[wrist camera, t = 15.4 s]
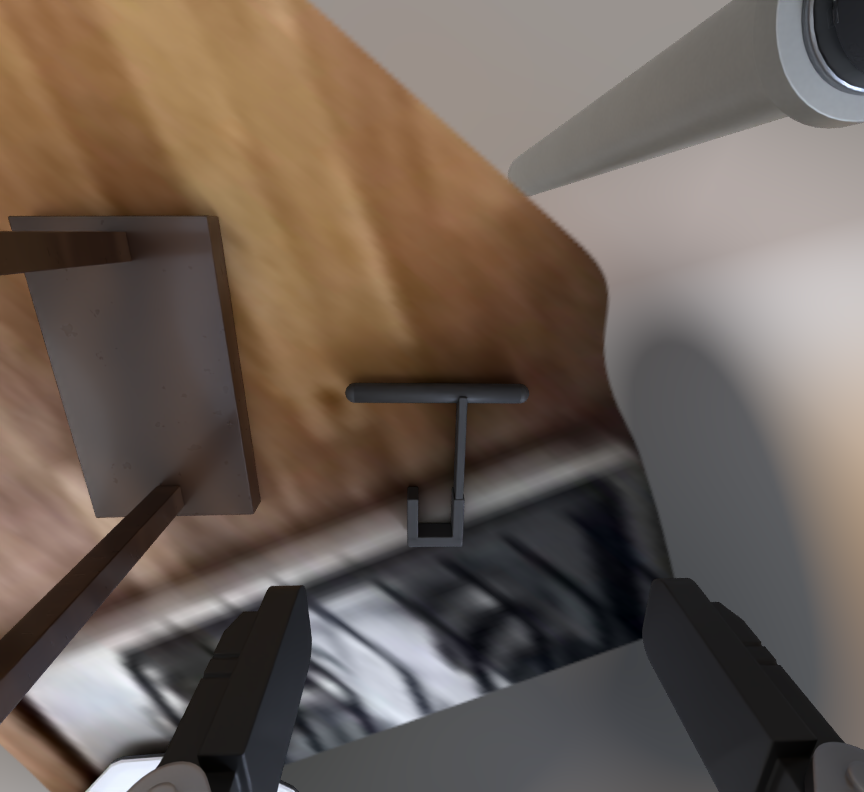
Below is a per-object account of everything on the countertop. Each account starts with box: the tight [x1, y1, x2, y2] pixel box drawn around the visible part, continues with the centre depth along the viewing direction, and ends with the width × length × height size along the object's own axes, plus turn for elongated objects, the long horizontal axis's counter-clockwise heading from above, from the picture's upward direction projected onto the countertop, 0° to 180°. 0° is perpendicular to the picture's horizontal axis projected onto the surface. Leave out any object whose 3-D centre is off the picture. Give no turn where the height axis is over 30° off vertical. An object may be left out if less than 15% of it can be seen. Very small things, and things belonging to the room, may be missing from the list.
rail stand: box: [0, 216, 261, 724], centre depth 19 cm, size 10×18×19 cm, turn 0°
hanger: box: [345, 383, 529, 547], centre depth 30 cm, size 11×2×11 cm
